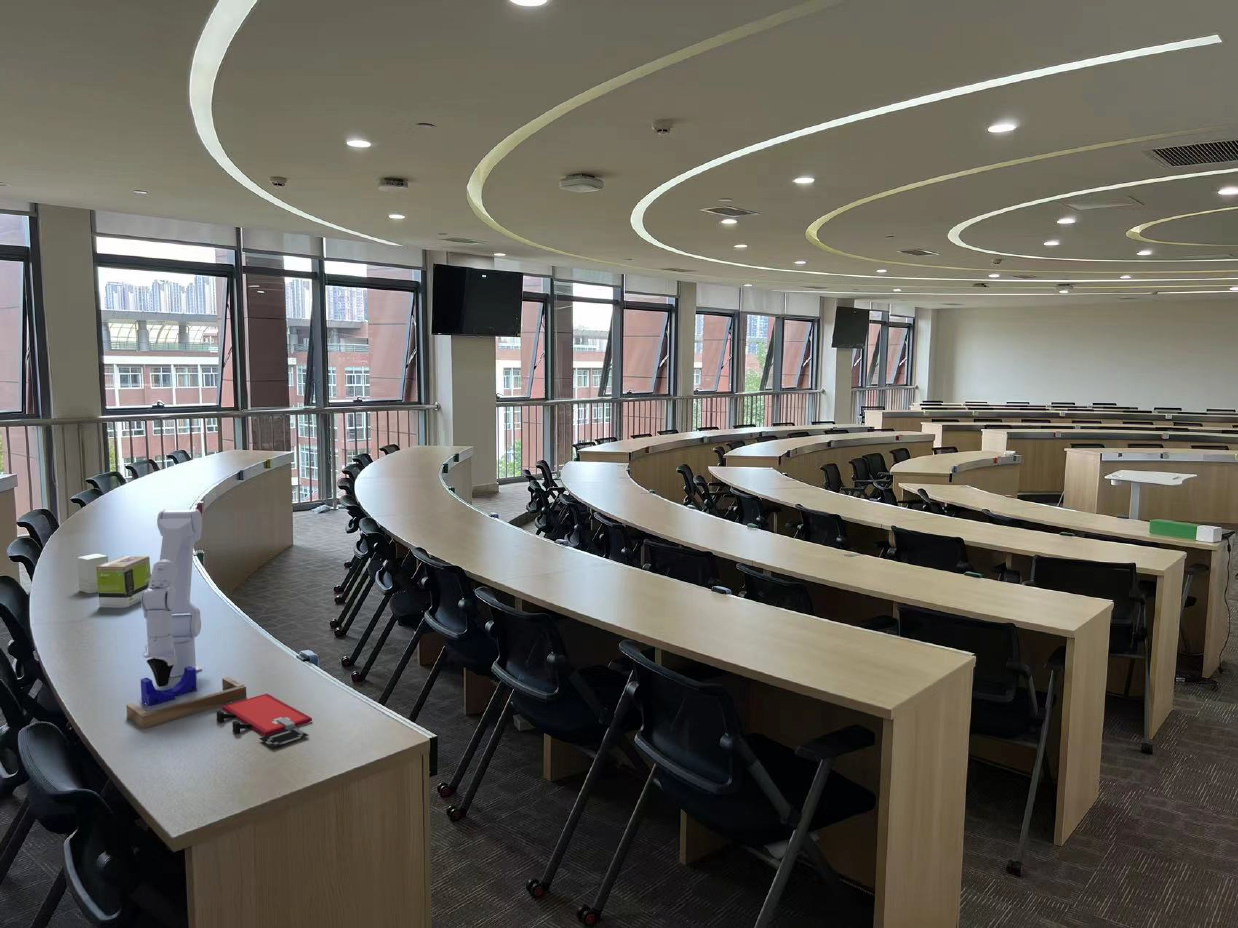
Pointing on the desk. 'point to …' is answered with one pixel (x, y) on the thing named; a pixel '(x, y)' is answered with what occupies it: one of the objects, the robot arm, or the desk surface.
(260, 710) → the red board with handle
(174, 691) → the blue curved bracket
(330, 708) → the desk surface
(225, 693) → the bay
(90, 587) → the supplement box
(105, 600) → the tea box
